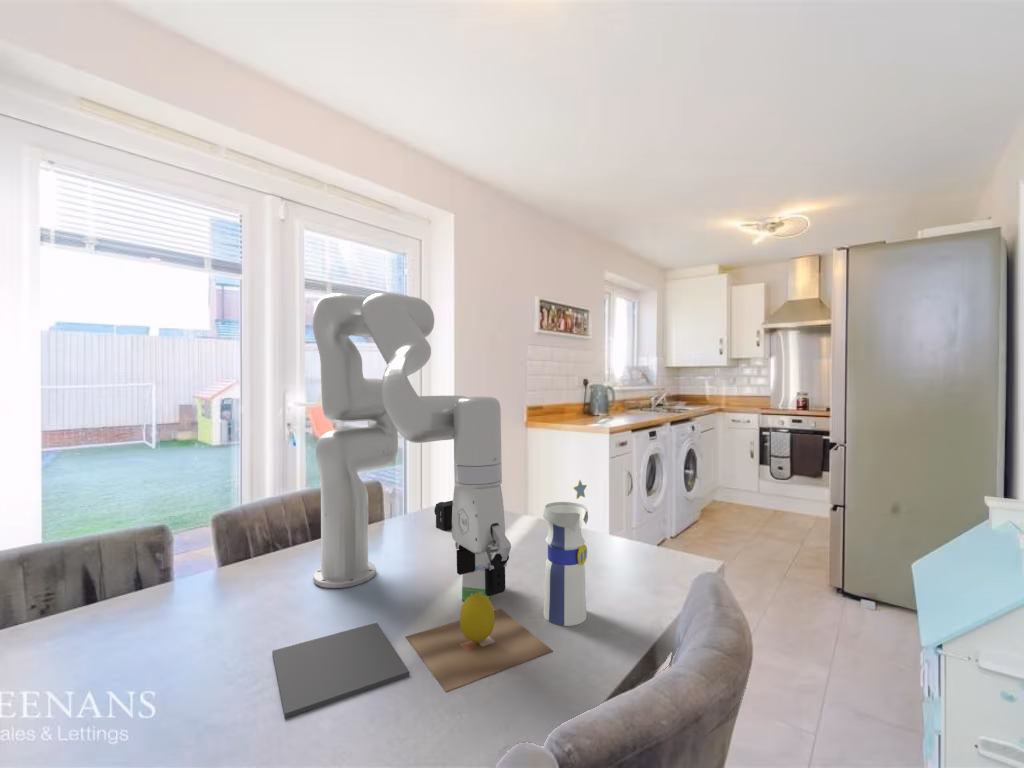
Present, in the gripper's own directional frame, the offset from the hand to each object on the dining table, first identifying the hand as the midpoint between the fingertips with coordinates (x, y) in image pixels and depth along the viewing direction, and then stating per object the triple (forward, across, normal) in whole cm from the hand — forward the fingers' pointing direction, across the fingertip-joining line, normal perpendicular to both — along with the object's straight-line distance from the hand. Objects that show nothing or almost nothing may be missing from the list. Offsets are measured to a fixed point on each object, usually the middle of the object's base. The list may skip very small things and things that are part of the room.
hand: (480, 582), depth 74 cm
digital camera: (+9, -60, +23) cm, 64 cm away
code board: (+10, -1, 0) cm, 10 cm away
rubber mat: (+10, -7, -20) cm, 24 cm away
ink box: (+10, -17, +9) cm, 21 cm away
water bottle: (+10, -1, +18) cm, 20 cm away
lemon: (+10, -1, 0) cm, 10 cm away
